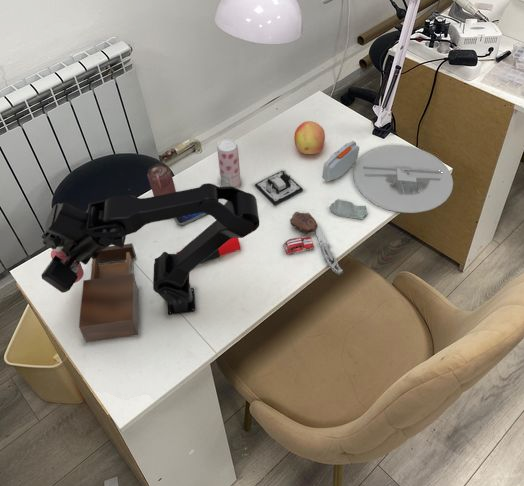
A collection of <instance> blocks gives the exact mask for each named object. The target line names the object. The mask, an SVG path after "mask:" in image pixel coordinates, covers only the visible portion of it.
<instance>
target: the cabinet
mask: <svg viewBox="0 0 524 486" xmlns="http://www.w3.org/2000/svg"><path fill="white" fill-rule="evenodd" d="M81 291H82V292H81V300H80V301H81V303H80V311H79V321H78V329H79V331H80V332H81V334H82V336H83V338H84V340H85V342H86V343H93V342H98V341H108V340H115V339H122V338H128V337H129V338H130V337H135V336H138V335H139V295H140V294H139V287H138V283H137V280H136V278H135V274H134V273H133V274H127V275H120V276H112V277H105V278H97V279H91V278H90V279H84V280H83V282H82V290H81Z"/></svg>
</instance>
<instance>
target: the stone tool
mask: <svg viewBox="0 0 524 486" xmlns="http://www.w3.org/2000/svg"><path fill="white" fill-rule="evenodd" d="M329 209H330V211H331V213H334V215H336V216H337V217H343V218H345V217H346V218H348V219H349V218H350V219H359V220H364V218H365V217H366V216H368V210H367V206H366V205H356V204H354V203H353V202H351V201H348V200H344V199H339V198H338V199H336V200H335V201H334V202H332V203H331V204H330V205H329Z"/></svg>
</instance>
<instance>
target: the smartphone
mask: <svg viewBox="0 0 524 486" xmlns="http://www.w3.org/2000/svg"><path fill="white" fill-rule="evenodd" d="M206 215H207V214H206V213H204V212H201V213H197V214H192V215H187V216H182V217H177V218H173V219H174V221H175V223H176V224H177V226H181V227H183V226H185V225H187V224H189V223H191V222H193V221H195V220H198V219H200V218H202V217H204V216H206Z"/></svg>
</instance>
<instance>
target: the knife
mask: <svg viewBox="0 0 524 486" xmlns="http://www.w3.org/2000/svg"><path fill="white" fill-rule="evenodd" d="M317 226H318V227H317V228H316V230H315V235H316V238H317V241H318V243H319V247H320V250H321V252H322V255H323V258H324V260H325V262H326V265H327V266H328V267H329V269H331V271H333V273H335V274H337V275H339V276H340V275H341V274H343V272H344V271H343V268H341V267H340V265H339V263H338V260H337V258H336V257H335V256H334V254H333V253H332V251H331V250H330V243H328V240H327V239H326V235H325V233H324V231H323V229H322V226H321V225H320V224H319V223H317ZM331 261H332V262H333V263H332V262H331Z"/></svg>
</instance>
